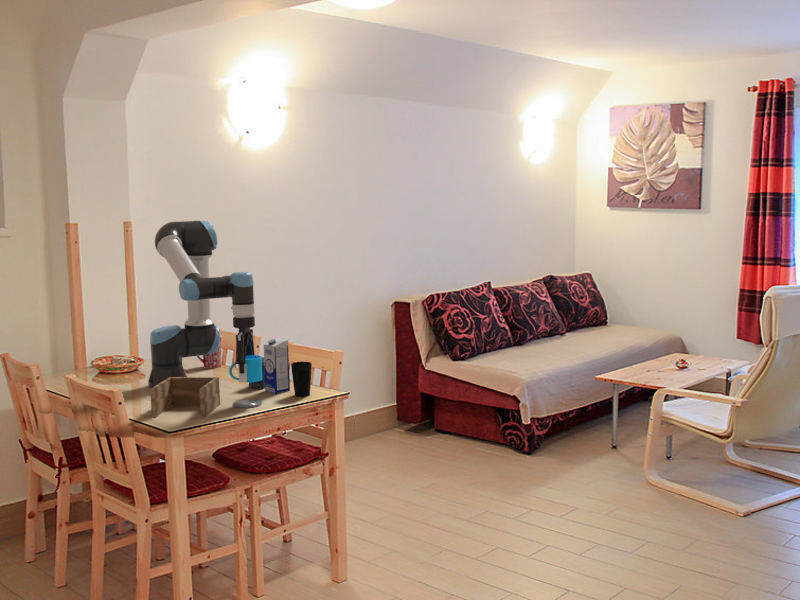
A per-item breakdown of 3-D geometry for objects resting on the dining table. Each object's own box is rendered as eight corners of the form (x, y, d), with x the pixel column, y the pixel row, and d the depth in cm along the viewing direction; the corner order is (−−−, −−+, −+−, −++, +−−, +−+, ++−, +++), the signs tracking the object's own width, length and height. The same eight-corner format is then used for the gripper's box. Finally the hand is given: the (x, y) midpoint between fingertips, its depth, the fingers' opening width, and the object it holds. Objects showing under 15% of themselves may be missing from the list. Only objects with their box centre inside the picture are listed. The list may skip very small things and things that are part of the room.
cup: (309, 391, 304) (308, 360, 302) (315, 396, 297) (314, 364, 295) (289, 394, 301) (288, 362, 299) (294, 398, 294) (293, 366, 292)
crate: (171, 404, 289) (169, 377, 287) (220, 404, 287) (218, 377, 286) (151, 418, 271) (150, 389, 270) (203, 418, 269) (202, 389, 268)
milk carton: (290, 390, 306) (288, 338, 304) (275, 393, 302) (273, 341, 299) (279, 387, 312) (277, 336, 309) (265, 390, 307) (263, 339, 304)
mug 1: (220, 363, 359) (218, 334, 358) (225, 367, 351) (224, 337, 350) (191, 367, 354) (190, 336, 352) (196, 370, 346) (195, 339, 344)
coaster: (237, 401, 292) (237, 399, 292) (264, 401, 291) (264, 399, 291) (229, 408, 282) (229, 406, 282) (257, 408, 281) (257, 406, 281)
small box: (263, 389, 309) (262, 362, 308) (248, 388, 311) (247, 361, 310) (276, 383, 319) (275, 357, 318) (261, 382, 321) (260, 356, 320)
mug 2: (256, 376, 291) (255, 354, 290) (266, 380, 284) (265, 357, 283) (225, 381, 284) (224, 358, 283) (234, 385, 277) (232, 361, 276)
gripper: (241, 312, 293) (244, 373, 296) (224, 320, 272) (227, 386, 275) (261, 311, 292) (264, 373, 295) (246, 320, 272) (249, 386, 274)
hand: (246, 379), depth 285 cm, fingers closed on mug 2, 8 cm apart
